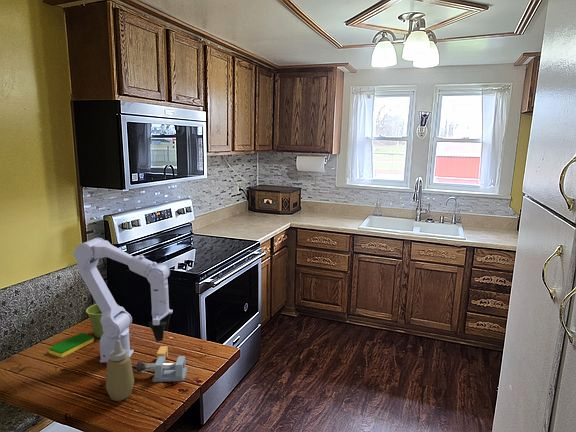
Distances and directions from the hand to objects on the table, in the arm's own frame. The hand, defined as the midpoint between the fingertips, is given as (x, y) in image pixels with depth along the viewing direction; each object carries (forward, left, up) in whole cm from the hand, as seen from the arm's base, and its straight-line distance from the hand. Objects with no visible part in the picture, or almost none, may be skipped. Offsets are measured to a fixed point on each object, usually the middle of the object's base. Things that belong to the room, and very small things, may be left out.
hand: (162, 335), depth 139 cm
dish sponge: (-36, +11, -10) cm, 39 cm away
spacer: (0, 0, -10) cm, 10 cm away
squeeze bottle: (-8, -20, -10) cm, 24 cm away
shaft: (+1, -10, -8) cm, 13 cm away
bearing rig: (+5, -10, -10) cm, 15 cm away
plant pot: (-28, +21, -10) cm, 36 cm away
